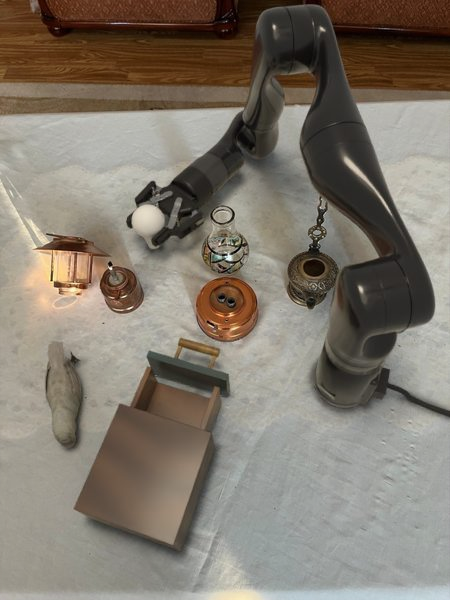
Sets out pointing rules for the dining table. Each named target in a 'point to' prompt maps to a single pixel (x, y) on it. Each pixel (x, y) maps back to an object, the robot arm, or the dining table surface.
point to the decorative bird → (62, 393)
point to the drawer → (176, 400)
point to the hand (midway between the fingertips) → (140, 233)
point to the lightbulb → (148, 222)
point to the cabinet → (148, 476)
